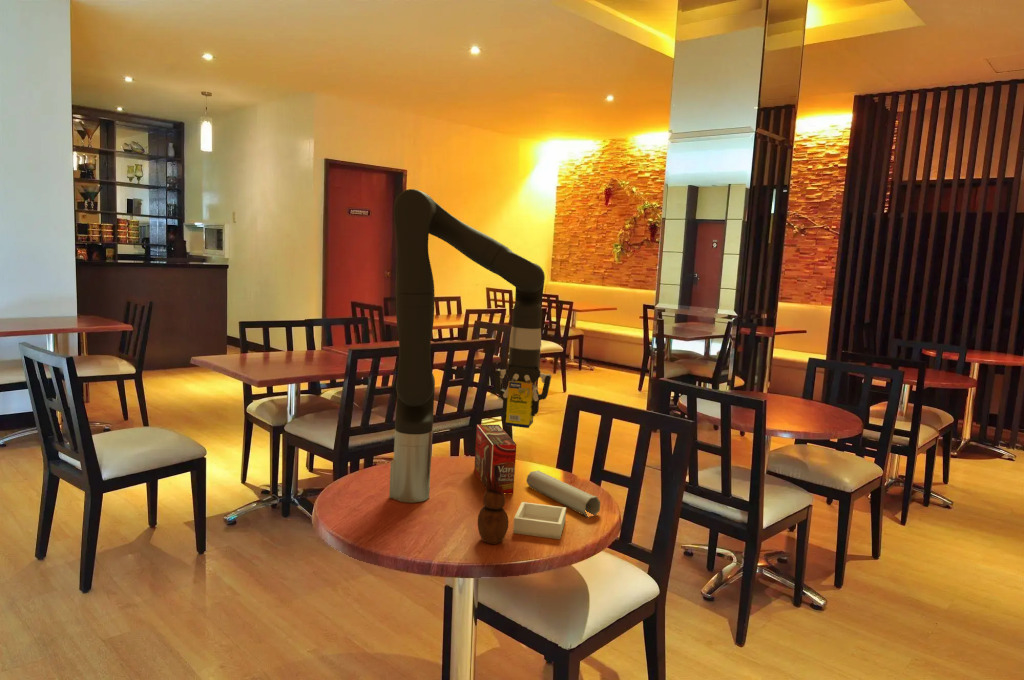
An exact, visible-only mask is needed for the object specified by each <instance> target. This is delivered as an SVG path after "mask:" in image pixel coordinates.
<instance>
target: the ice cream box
mask: <svg viewBox="0 0 1024 680" xmlns="http://www.w3.org/2000/svg"><path fill="white" fill-rule="evenodd" d="M475 434H476V436H475V449H474V450H475V452H474V469H473V470H474V472H475V474H476V475H477V477H478V476H479V477H478V478H479V480H480V479H481V480H480V481H482V482H481V483H482V485H483V484H484V485H483V487H484V488H485V487H486V488H485V490H486V489H487V477H488V472H490V477H491V482H492V481H493V476H495V480H496V483H497V481H499V487H500V486H502V492H503V493H513V494H514V490H515V488H514V487H515V475H516V474H515V473H516V459H517V458H516V456H517V442H515V441H514V440H513V439H512V437H511V436H509V434H508V433H507V432H506V431H505V430H504V429H503V427H502V426H501V425H500V424H476V433H475Z"/></svg>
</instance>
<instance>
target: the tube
mask: <svg viewBox="0 0 1024 680" xmlns="http://www.w3.org/2000/svg"><path fill="white" fill-rule="evenodd" d="M526 483H527V485H528V486H529V488H530V487H531V488H530V489H532V488H533V489H532V490H534V489H535V490H534V491H536V492H538V493H540V494H542V495H544V496H546V497H548V498H550V499H551V498H552V500H553V499H554V501H555V500H556V501H555V502H557V503H559V504H561V505H563V506H565V507H566V508H568V509H569V508H570V509H571V510H573V511H575V510H576V511H575V512H577V511H578V513H579V512H580V513H579V514H581V513H582V514H581V515H583V514H584V515H583V516H585V518H589V517H588V516H587V514H586V512H585V510H586V511H587V512H589V513H591V514H593V515H595V516H597V514H598V513H600V511H601V501H600V500H599V497H598V496H597V495H592V494H590V493H588V492H586V491H584V490H581V489H580V488H577V487H575V486H573V485H571V484H570V483H569V484H568V483H566V482H564V481H562V480H560V479H558V478H556V477H553V476H552V475H549V474H547V473H545V472H542V471H541V470H536V471H530V472H529V474H528V475H527V477H526Z"/></svg>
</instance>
